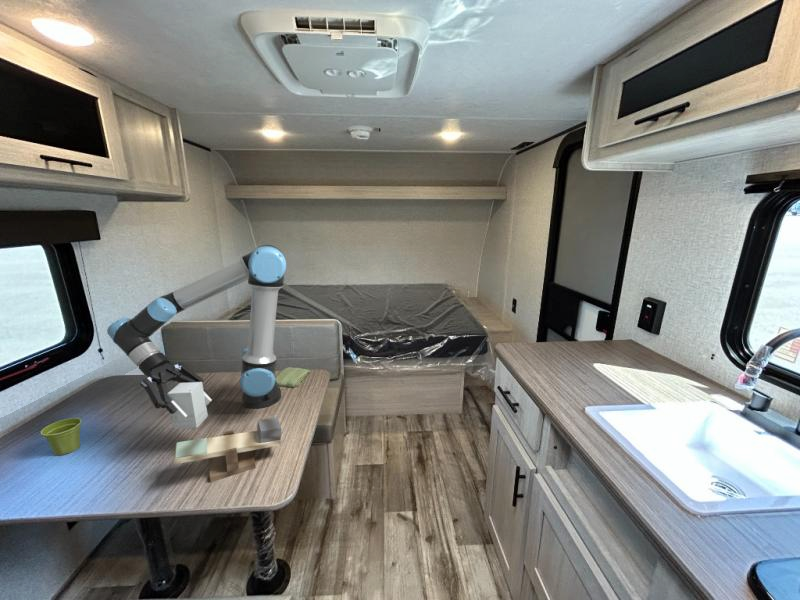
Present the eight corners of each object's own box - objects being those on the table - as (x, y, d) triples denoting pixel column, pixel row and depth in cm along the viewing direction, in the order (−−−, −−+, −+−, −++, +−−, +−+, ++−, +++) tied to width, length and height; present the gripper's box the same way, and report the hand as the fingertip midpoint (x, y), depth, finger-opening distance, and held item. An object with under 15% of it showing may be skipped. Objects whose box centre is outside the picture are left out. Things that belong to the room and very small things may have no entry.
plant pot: (66, 460, 106) (60, 435, 104) (38, 458, 106) (31, 434, 105) (94, 441, 115) (89, 418, 113) (68, 440, 116) (62, 417, 114)
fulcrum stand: (250, 447, 113) (248, 425, 111) (255, 467, 103) (253, 444, 101) (209, 459, 107) (206, 436, 105) (210, 482, 97) (207, 457, 96)
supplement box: (208, 415, 115) (203, 381, 112) (197, 428, 108) (190, 392, 105) (186, 416, 115) (180, 382, 112) (173, 429, 108) (166, 393, 105)
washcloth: (311, 372, 169) (311, 366, 169) (296, 389, 152) (296, 382, 151) (286, 371, 171) (286, 365, 170) (269, 387, 154) (268, 381, 153)
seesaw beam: (275, 431, 114) (276, 416, 113) (280, 445, 107) (281, 429, 107) (175, 447, 100) (176, 430, 99) (174, 464, 93) (174, 445, 92)
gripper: (174, 353, 121) (217, 399, 121) (109, 381, 101) (161, 436, 101) (183, 340, 119) (228, 388, 118) (119, 366, 98) (172, 423, 98)
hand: (197, 410), depth 109 cm, fingers closed on supplement box, 9 cm apart
